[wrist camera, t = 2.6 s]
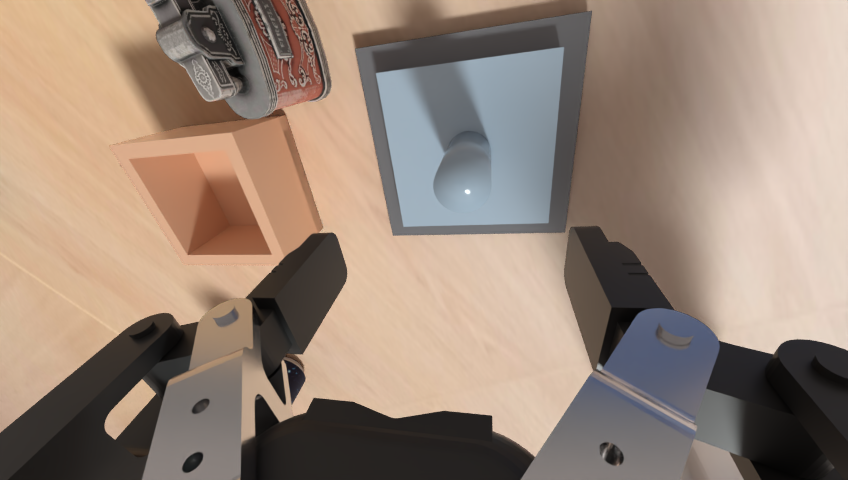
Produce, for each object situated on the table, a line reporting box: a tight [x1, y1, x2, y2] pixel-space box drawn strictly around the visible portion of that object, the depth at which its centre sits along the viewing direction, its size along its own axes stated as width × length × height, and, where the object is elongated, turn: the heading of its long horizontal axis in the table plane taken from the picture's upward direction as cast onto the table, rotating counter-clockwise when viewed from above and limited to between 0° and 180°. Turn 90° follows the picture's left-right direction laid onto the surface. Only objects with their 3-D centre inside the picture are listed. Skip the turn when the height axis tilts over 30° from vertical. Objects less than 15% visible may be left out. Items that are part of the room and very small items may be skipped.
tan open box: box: [109, 115, 323, 265], centre depth 25 cm, size 10×10×6 cm
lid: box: [376, 47, 564, 227], centre depth 19 cm, size 11×11×7 cm
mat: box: [355, 11, 592, 236], centre depth 22 cm, size 14×14×1 cm
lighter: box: [145, 0, 332, 119], centre depth 17 cm, size 8×3×10 cm, turn 16°
